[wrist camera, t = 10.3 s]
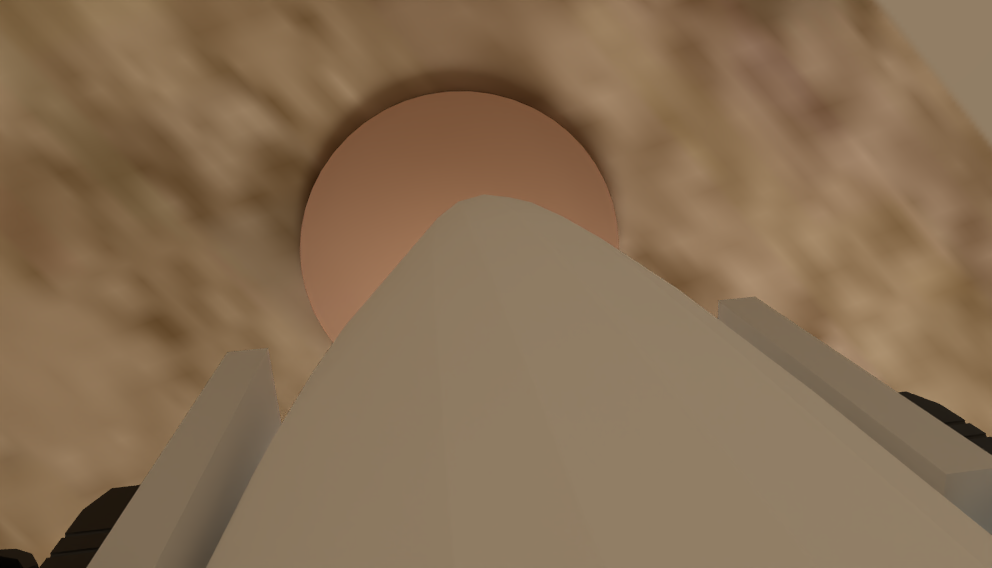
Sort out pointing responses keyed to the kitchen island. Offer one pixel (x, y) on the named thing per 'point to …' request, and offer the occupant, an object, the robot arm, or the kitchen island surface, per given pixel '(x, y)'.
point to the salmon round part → (434, 188)
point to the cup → (569, 429)
